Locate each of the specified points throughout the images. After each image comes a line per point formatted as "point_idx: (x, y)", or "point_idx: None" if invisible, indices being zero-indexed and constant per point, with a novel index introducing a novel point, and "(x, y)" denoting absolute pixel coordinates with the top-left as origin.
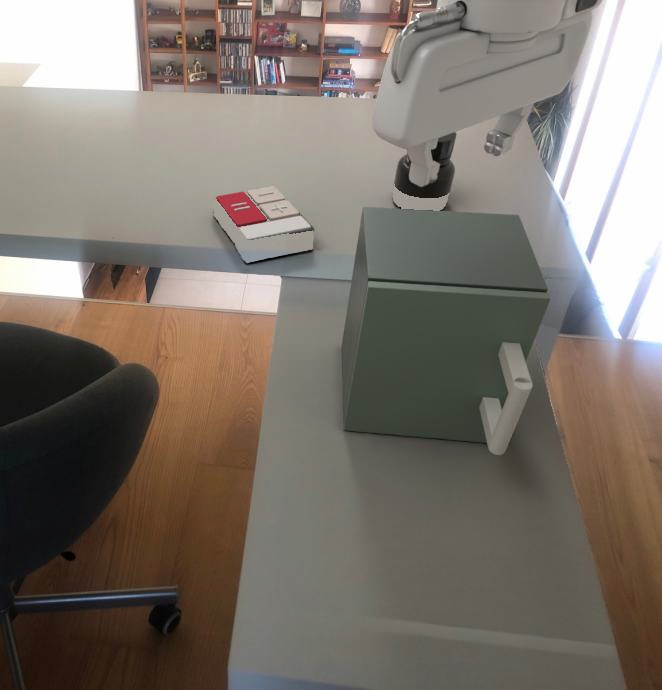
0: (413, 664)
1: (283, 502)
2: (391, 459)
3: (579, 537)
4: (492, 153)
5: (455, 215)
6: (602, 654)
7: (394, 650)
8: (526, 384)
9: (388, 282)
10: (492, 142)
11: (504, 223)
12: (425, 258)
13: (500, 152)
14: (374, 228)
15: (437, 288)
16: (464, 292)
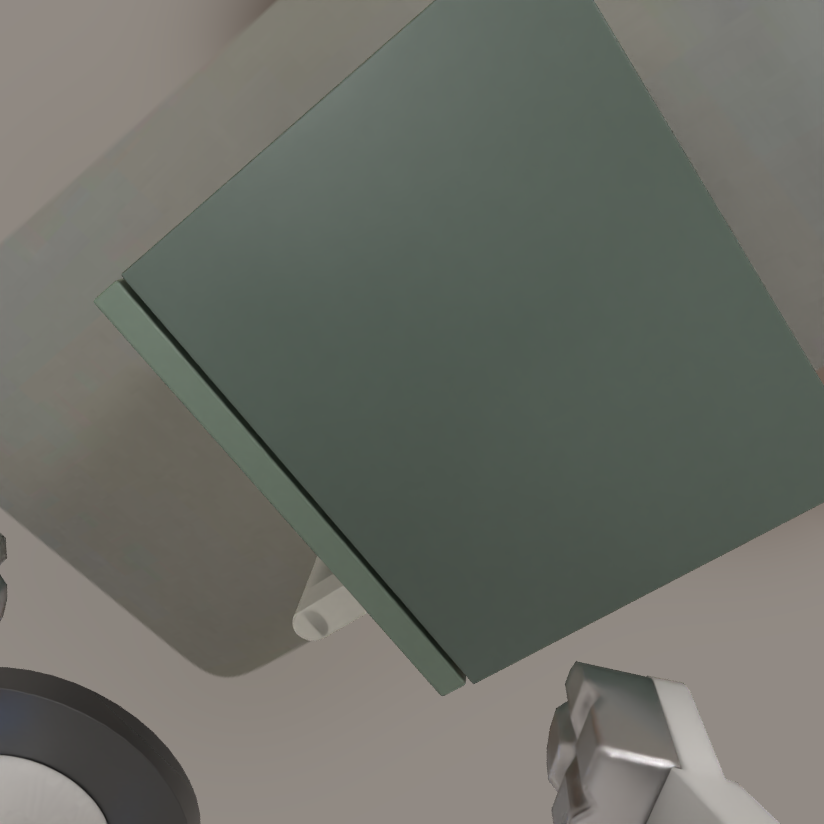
0: (50, 526)
1: (75, 244)
2: None
3: None
4: (567, 704)
5: (725, 294)
6: (240, 670)
7: (44, 502)
8: (312, 631)
9: (162, 336)
10: (576, 744)
11: (777, 461)
12: (361, 361)
13: (549, 768)
14: (406, 86)
15: (255, 464)
16: (298, 528)
